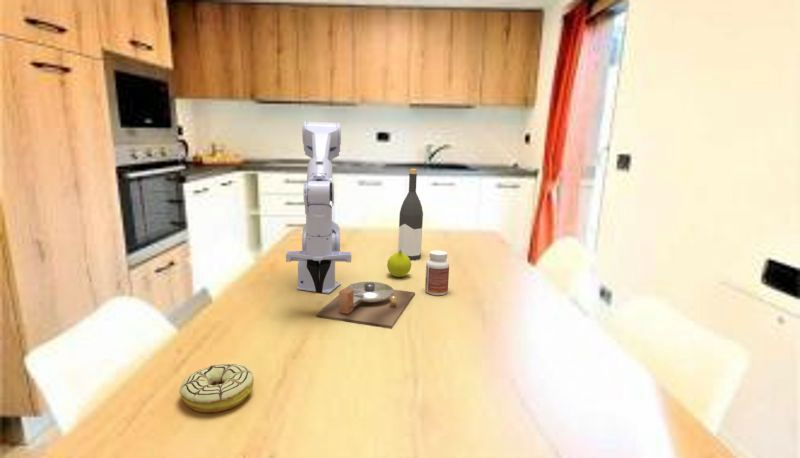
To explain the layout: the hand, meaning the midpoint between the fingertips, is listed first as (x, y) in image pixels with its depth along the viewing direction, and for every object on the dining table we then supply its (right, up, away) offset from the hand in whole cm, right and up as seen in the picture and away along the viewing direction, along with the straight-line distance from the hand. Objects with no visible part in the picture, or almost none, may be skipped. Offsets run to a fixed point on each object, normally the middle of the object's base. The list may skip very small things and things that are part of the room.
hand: (319, 291), depth 104 cm
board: (+11, -4, +7) cm, 14 cm away
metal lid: (+10, -3, +7) cm, 12 cm away
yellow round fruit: (+18, 0, +29) cm, 35 cm away
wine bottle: (+22, +5, +50) cm, 54 cm away
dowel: (+17, -5, +5) cm, 18 cm away
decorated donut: (-10, -13, -32) cm, 36 cm away
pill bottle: (+28, -3, +18) cm, 34 cm away
